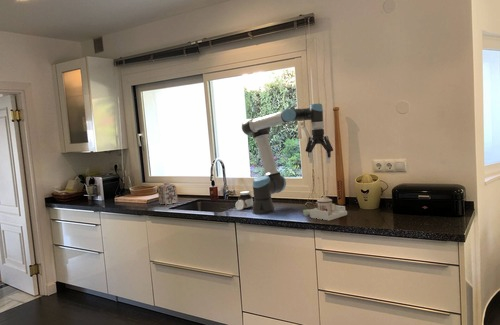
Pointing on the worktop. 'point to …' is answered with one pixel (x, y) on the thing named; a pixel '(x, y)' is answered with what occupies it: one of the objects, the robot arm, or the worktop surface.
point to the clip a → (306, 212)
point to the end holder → (324, 214)
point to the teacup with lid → (326, 205)
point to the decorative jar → (167, 193)
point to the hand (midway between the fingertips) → (319, 162)
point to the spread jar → (244, 201)
